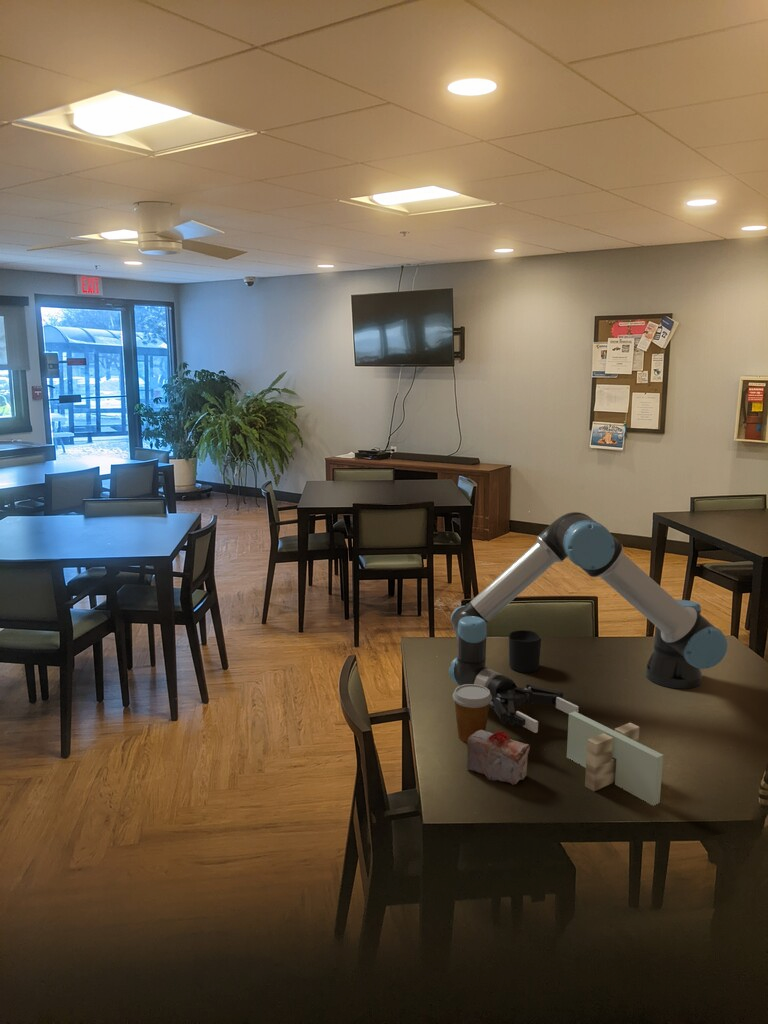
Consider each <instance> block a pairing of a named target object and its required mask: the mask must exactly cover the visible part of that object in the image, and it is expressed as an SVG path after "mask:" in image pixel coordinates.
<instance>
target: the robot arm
mask: <svg viewBox="0 0 768 1024" xmlns="http://www.w3.org/2000/svg"><path fill="white" fill-rule="evenodd" d="M623 549H624V546H623V544H622V543H621V542H620V541H619V540H618V539H617V538H616V537H614V536H613V535H612V533H611V532H610V531H609V530H608V528H606V527H605V526H604V525H602V524H601V523H599V522H598V521H596V520H594V519H593V518H592V517H590V516H589V515H588V514H585V513H584V512H577V511H573V512H567V513H565V514H563V515H561V516H559V517H558V518H557V519H555V520H553V522H552V523H551V524H550V525H548V526H547V527H546V528H545V529H544V530H543V531H541V532H540V533H539V534H538V535H537V537H536V542H534V543H533V545H531V547H529V548H528V549H527V550H526V551H524V552H523V554H521V555H520V556H519V557H518V558H517V559H516V560H515V561H514V562H512V563H511V564H510V565H509V566H508V567H507V568H506V569H505V570H504V571H502V573H501V574H499V575H498V576H497V577H496V578H495V579H493V581H492V582H490V584H488V585H487V586H486V587H485V588H484V589H483V590H482V591H480V593H478V594H477V595H476V596H475V597H474V598H472V600H470V602H468V603H467V604H466V605H460V606H457V607H456V608H455V609H454V610H453V611H452V613H451V615H450V622H451V623H450V625H451V628H452V630H453V632H454V635H455V636H454V637H455V638H456V641H457V657H455V658H453V660H452V661H451V663H450V667H449V668H448V675H449V678H450V679H451V681H452V682H454V683H455V684H456V685H458V686H461V685H465V684H476V685H481V686H484V687H486V688H487V689H489V691H490V694H491V696H492V700H491V702H490V705H489V708H491V709H493V710H494V712H495V713H496V715H497V716H498V718H499V721H500V722H501V723H502V724H507V723H509V724H508V725H510V726H514V725H515V724H517V725H518V726H521V727H523V728H525V729H527V730H529V731H531V732H532V733H535V734H536V733H538V731H539V721H538V720H536V719H534V718H532V717H530V716H529V715H527V714H526V713H523V712H521V711H519V710H517V711H515V707H519V706H520V705H532V704H537V705H545V706H546V705H547V706H554V707H555V709H557V710H559V711H562V712H564V713H565V714H568V715H569V713H572V712H574V711H575V712H577V713H579V707H580V706H578V705H577V704H575V703H572V702H570V701H569V700H566V699H564V692H561V691H557V690H552V689H548V688H547V689H546V688H543V687H538V686H534V685H532V684H528V683H527V684H526V685H525V688H522V687H518V686H517V684H516V682H515V681H514V680H513V679H512V678H510V677H508V676H505V675H503V674H501V673H500V672H497V671H496V670H493V669H491V668H490V667H487V666H486V659H487V657H486V656H487V655H486V653H487V651H486V650H487V635H488V631H487V623H489V622H490V620H492V619H493V618H494V617H495V616H496V615H497V614H499V613H500V612H501V611H502V610H503V609H505V608H506V607H507V606H508V605H509V604H510V603H511V602H512V601H514V599H515V598H517V597H518V596H519V595H521V593H522V592H524V590H526V589H527V588H528V587H530V586H531V585H532V584H533V583H534V582H535V581H536V580H537V579H538V578H540V576H541V575H543V574H544V573H545V572H546V571H547V570H548V569H550V568H551V567H552V566H553V565H554V564H555V563H562V562H564V560H565V559H567V558H568V559H569V560H570V561H571V562H572V563H573V564H574V565H575V566H577V567H579V568H580V569H581V570H582V571H584V572H585V573H586V574H587V575H588V576H590V577H591V578H600V579H601V580H603V581H604V582H605V583H606V584H607V585H608V586H610V587H611V588H612V589H613V590H614V591H615V592H616V593H617V594H619V595H620V596H621V597H622V598H623V599H624V600H626V602H628V603H629V604H630V605H631V606H633V607H634V609H636V610H637V611H638V612H639V613H641V615H643V616H644V618H646V619H648V621H650V622H651V623H652V624H653V625H654V640H653V641H654V642H653V650H652V653H651V655H650V658H649V660H648V662H647V664H646V666H645V677H646V678H647V679H648V680H650V681H651V682H653V683H655V685H660V686H662V687H667V688H673V689H692V688H696V687H698V686H700V685H701V683H702V677H703V676H702V675H703V674H702V671H701V670H705V669H711V668H714V667H716V666H717V665H718V664H719V663H720V662H722V660H723V659H724V658H725V656H726V654H727V651H728V639H727V637H726V635H725V634H724V632H723V631H722V630H721V629H719V628H717V627H716V626H714V624H712V623H711V622H710V621H708V619H706V618H705V617H704V616H703V615H702V614H701V613H702V609H701V608H702V606H701V604H700V603H698V602H697V601H694V600H687V599H675V598H674V597H673V596H672V595H671V594H669V593H668V592H667V591H666V590H665V589H664V588H663V587H661V585H660V584H658V583H657V582H656V581H655V580H654V579H652V578H651V577H650V575H648V574H647V573H646V572H645V571H644V570H642V569H641V568H640V567H639V566H638V565H637V564H636V563H635V562H634V561H633V560H632V559H630V558H629V557H628V556H627V555H626V554H624V551H623ZM505 707H506V708H507V710H506V709H505Z"/></svg>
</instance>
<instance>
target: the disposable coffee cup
mask: <svg viewBox="0 0 768 1024" xmlns="http://www.w3.org/2000/svg"><path fill="white" fill-rule="evenodd" d="M452 700H453V702H454V707H455V714H456V715H455V718H456V727H457V734H458V739H459V740H460V741H462V742H464V743H467V740H468V738H469V737H470V736H471V735H472V734H473V733H475V732H476V731H479V730H484V731H486V727H487V721H488V715H489V711H490V702H491V700H492V696H491V694H490V691H489V689H487V688H486V687H484V686H481V685H476V684H465V685H461V686H459V685H458V686H457V687H455V689H454V692H453V693H452Z"/></svg>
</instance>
